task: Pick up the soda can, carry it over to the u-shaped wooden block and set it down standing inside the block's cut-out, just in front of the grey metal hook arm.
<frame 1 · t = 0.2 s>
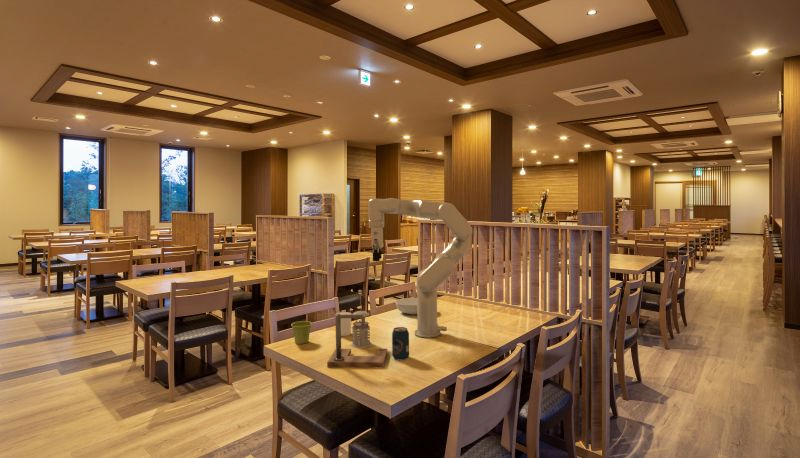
hand: (377, 259, 209), 36 cm above the table, tool pointing down, fingers open, 9 cm apart
soda can: (400, 358, 178), on the table
french press: (360, 345, 195), on the table
hook post: (339, 364, 171), resting on u-shaped wooden block
u-shaped wooden block: (358, 360, 176), on the table
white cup: (343, 334, 213), on the table
plant pot: (302, 342, 201), on the table
serving bowl: (413, 313, 254), on the table
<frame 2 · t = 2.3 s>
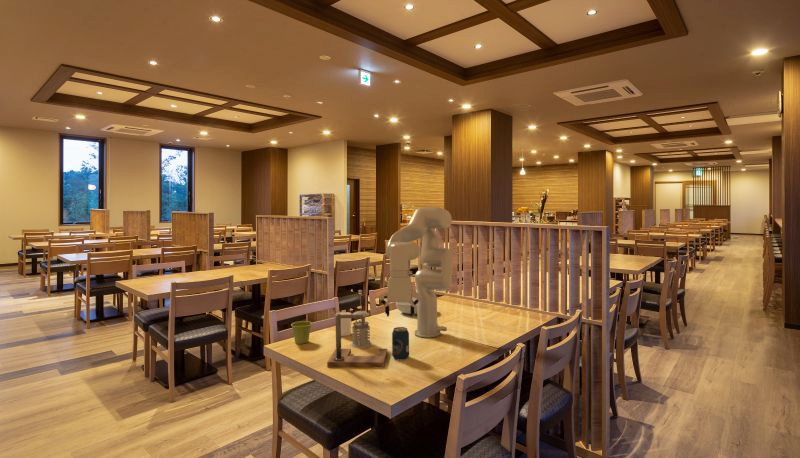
hand: (399, 315, 177), 17 cm above the table, tool pointing down, fingers open, 9 cm apart
nothing on the table moved.
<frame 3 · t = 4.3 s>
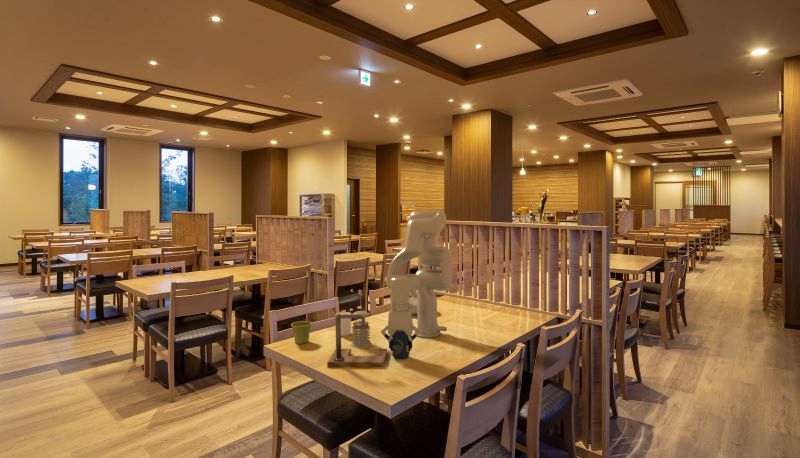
hand: (400, 349, 178), 3 cm above the table, tool pointing down, fingers closed on soda can, 6 cm apart
soda can: (400, 358, 178), on the table, touching gripper
everything else where it was.
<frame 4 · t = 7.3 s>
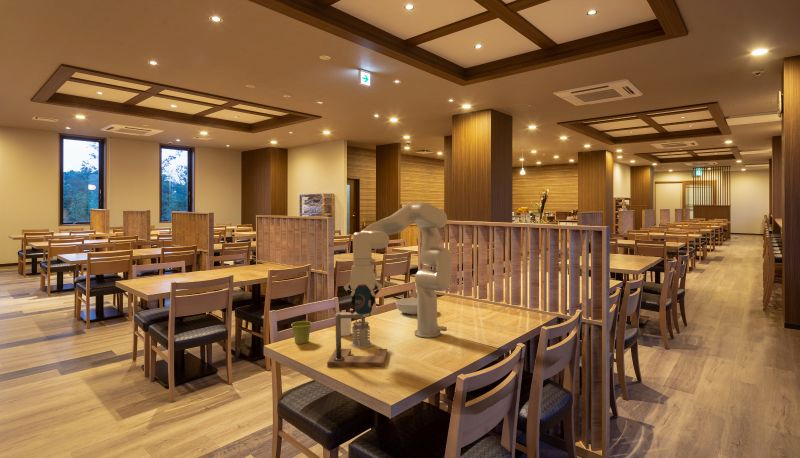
hand: (363, 305, 178), 22 cm above the table, tool pointing down, fingers closed on soda can, 6 cm apart
soda can: (363, 313, 178), point 18 cm above the table, touching gripper
everything else where it was.
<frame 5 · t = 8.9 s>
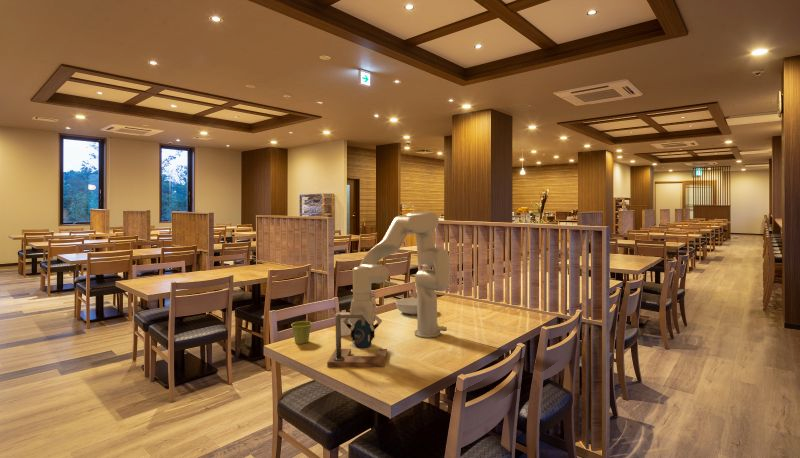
hand: (362, 339, 179), 8 cm above the table, tool pointing down, fingers closed on soda can, 6 cm apart
soda can: (363, 347, 179), point 4 cm above the table, touching gripper
everything else where it was.
when the fingers open (5 cm above the table, at t = 10.2 s): soda can drops 2 cm, on the table.
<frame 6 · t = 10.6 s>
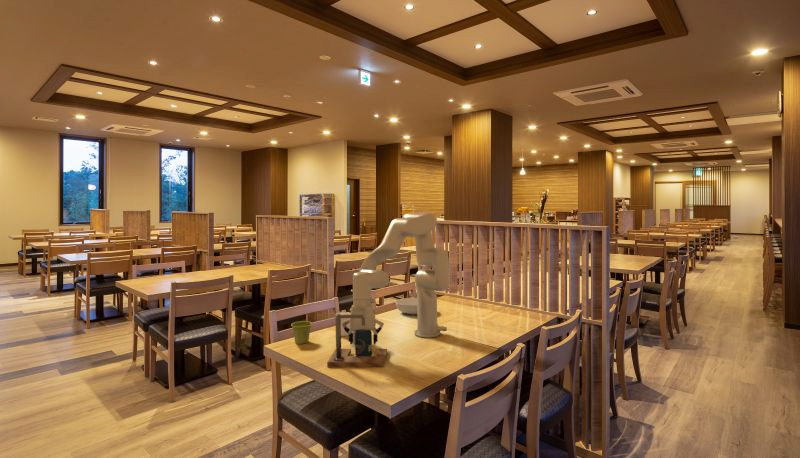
hand: (363, 343, 179), 6 cm above the table, tool pointing down, fingers open, 9 cm apart
soda can: (363, 357, 179), on the table
everything else where it was.
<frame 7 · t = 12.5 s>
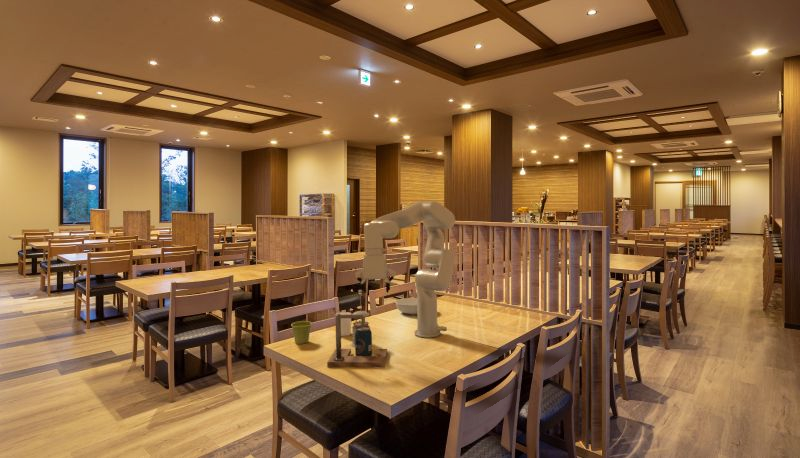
hand: (376, 292, 183), 26 cm above the table, tool pointing down, fingers open, 9 cm apart
nothing on the table moved.
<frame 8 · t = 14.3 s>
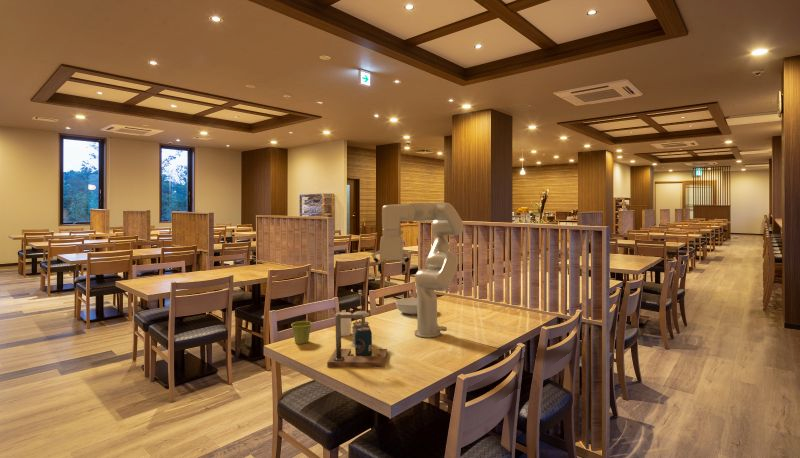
hand: (391, 273, 187), 33 cm above the table, tool pointing down, fingers open, 9 cm apart
nothing on the table moved.
at the end: soda can inside the target area (0.1 cm from its centre), on the table; soda can tilted 0°; the gripper is holding nothing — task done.
